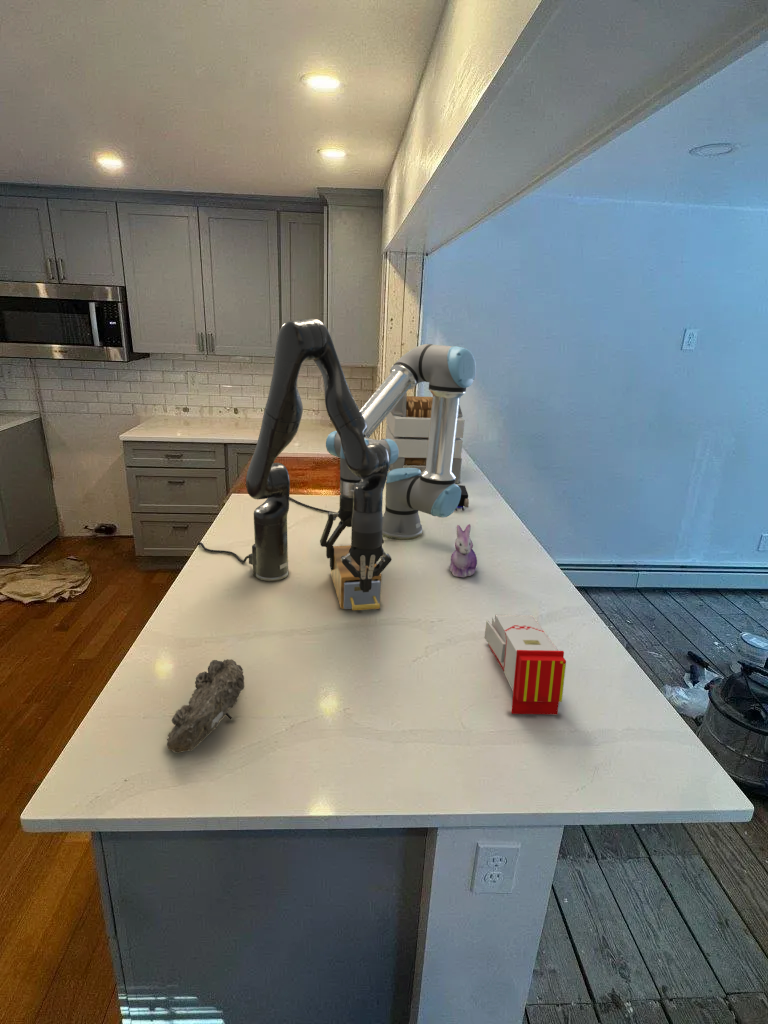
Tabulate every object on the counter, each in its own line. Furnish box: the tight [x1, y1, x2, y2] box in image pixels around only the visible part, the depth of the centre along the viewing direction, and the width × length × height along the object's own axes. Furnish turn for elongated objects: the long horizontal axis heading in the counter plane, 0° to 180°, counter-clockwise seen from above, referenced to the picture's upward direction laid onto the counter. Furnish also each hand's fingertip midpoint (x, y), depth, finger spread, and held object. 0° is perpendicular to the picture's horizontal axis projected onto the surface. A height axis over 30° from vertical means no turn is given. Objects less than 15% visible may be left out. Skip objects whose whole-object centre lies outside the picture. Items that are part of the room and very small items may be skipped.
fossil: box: [166, 658, 245, 754], centre depth 106 cm, size 22×10×15 cm
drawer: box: [343, 579, 382, 611], centre depth 153 cm, size 25×9×7 cm, turn 12°
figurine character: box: [455, 484, 470, 512], centre depth 229 cm, size 7×8×15 cm
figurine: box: [449, 523, 478, 578], centre depth 170 cm, size 9×10×15 cm
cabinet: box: [330, 544, 383, 610], centre depth 158 cm, size 20×11×9 cm, turn 12°
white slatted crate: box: [384, 392, 465, 484], centre depth 268 cm, size 34×33×41 cm
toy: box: [484, 614, 567, 716], centre depth 124 cm, size 12×13×30 cm
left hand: (365, 590), depth 142 cm, fingers closed
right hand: (351, 566), depth 163 cm, fingers closed on cabinet, 11 cm apart
